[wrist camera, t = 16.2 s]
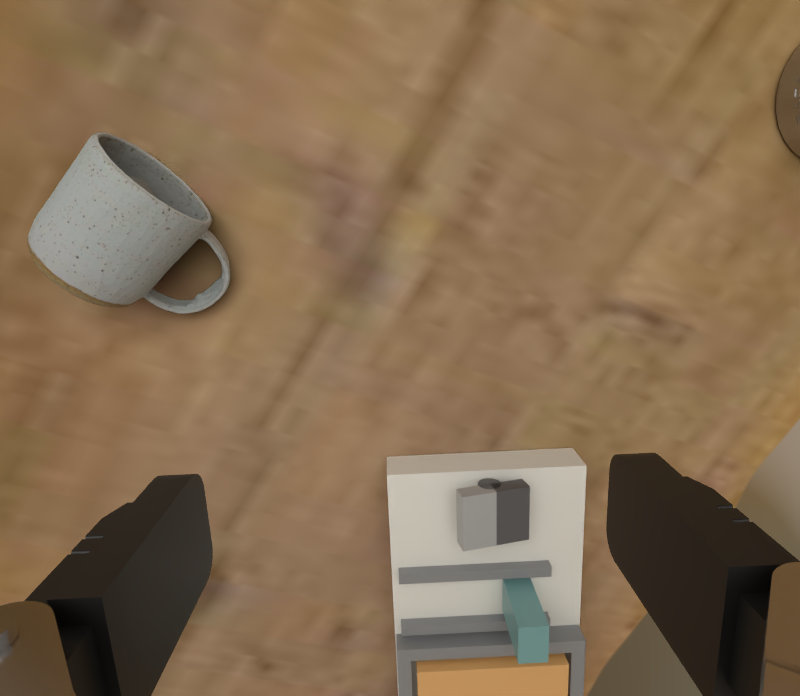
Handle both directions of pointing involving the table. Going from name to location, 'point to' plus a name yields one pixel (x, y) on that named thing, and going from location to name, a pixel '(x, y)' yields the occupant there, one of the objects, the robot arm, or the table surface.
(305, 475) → the table surface
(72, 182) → the ceramic mug
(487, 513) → the rocker switch
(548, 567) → the switch panel
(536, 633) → the slide switch
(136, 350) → the table surface
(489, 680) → the paddle button
